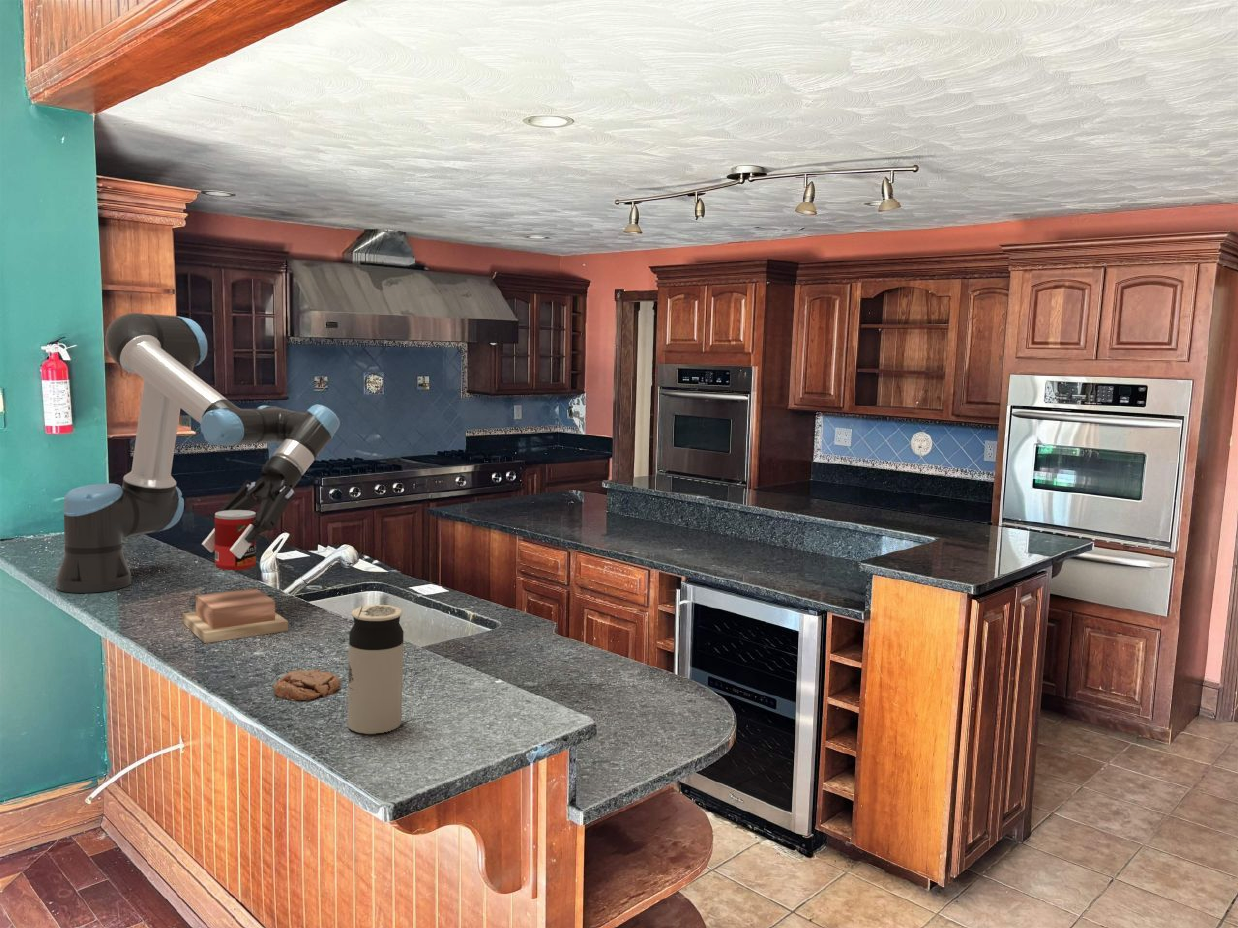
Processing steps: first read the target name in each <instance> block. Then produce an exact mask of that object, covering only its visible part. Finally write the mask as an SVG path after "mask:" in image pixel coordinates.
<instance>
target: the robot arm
mask: <svg viewBox="0 0 1238 928" xmlns="http://www.w3.org/2000/svg"><path fill="white" fill-rule="evenodd" d="M104 344H105V348H106V351H107V353H108V355H109V356H110V358H111V359H112V360H113V361H114V363H115V364H117V365H118V366H119V367H120V368H122V369H123V370H124V371H126V372H127V373H129V374H137V375H138V376H139V377H141V378H142V379H143V386H142V392H141V398H140V399H141V401H140V406H139V407H140V408H139V413H138V414H139V415H138V420H137V421H138V422H137V429H136V436H135V443H134V450H133V458H132V464H131V465H132V466H131V470H130V471H129V472H128V473H126V474H125V475H124V476H123V478H122V485H120V484H116V483H107V482H106V483H105V482H104V483H98V484H95V483H94V484H87V485H82V486H79V487H76V488H73V489H71V490H69V491H67V493H66V494H65V496H64V501H63V508H62V513H63V529H64V532H63V533H64V534H63V535H64V538H63V539H64V541H63V542H64V555H63V558H62V562H61V564H60V567H59V570H58V572H57V576H56V579H55V581H56V583H55V585H56V586H55V587H56V588H55V589H57V590H58V591H60V592H65V593H74V594H75V593H76V594H79V593H80V594H81V593H82V594H83V593H84V594H86V593H89V594H91V593H101V592H102V593H103V592H110V591H113V590H114V591H115V590H119V589H123V588H126V587H128V586H130V585H131V584H132V574H131V571H130V568H129V566H128V563H127V561H126V557H125V555H124V553H123V538H124V537H125V538H126V537H130V536H131V537H132V536H136V535H142V534H149V533H151V534H152V533H153V534H155V533H159V532H161V531H165V530H169V529H171V528H172V527H174V526H175V525H177V524H178V522H179V521H180V519H181V518H182V515H183V512H184V508H185V507H184V506H185V500H184V499H185V498H183V497H182V496H183V493H182V491H181V490H180V488H179V487H178V486H177V481H176V480H175V478H174V477H173V476H172V468H173V463H174V462H173V460H174V454H175V447H176V441H177V433H178V427H179V420H180V412H181V410H182V411H184V412H185V413H186V414H188V415H189V416H190V417H191V418H192V419H193V420H195V421H196V422H197V423H199V424H200V431H201V434H202V435H203V438H204V440H205V442H207V444H209V445H211V446H222V447H231V446H237V445H238V446H241V445H250V444H264V443H265V444H268V443H280V445H279V446H278V448H277V449H276V450H275V451H274V453H273V455H272V456H270V457H269V459H268V460H267V461H266V462H265V464H264V465H263V466H262V469H261V471H262V474H261V477H260V478H259V479H257V480H256V481H251V480H250V479H246V480H245V481H244V482H243V483H242V485H241V487H240V488H239V489H238V490H237V491H236V493H235V494H233V495H232V496H231V498H230V499H228V500H227V501H226V502H225V503H224V505H223V506H222V507H221V508H220V509H218V511H217V512H220V511H227V510H247V511H250V510H251V509H252V508H253V507H254V506H259V509H258V511H257V513H256V519H255V520H254V521H252V523H253V524H254V525H255V526H253V525H252V524H249V526H248V527H247V528H246V529H245V531H244V532H243V533H242V535H241V536H240V537H239V538H238V540H237V541H236V542H235V544H234V545H233V546H232V548H231V549H230V551H231V552H232V553H233V554H234V555H235V556H236V557H237V558H240V559H241V557H242V556H243V555H244V553H245V552H246V551H247V549H248V548H249V547H250V545H251V544H252V543H254V542H255V540H256V541H257V539H258V538H259V537H260V535H261V534H262V533H264V532H266V531H269V532H271V531H274V529H275V527H276V525H277V524H278V522H279V520H280V518H281V517H282V516H283V513H284V512H285V510H286V508H287V507H288V505H289V503H290V502H291V501H292V500H293V499H294V497H296V495H297V493H296V492H295V491H294V490H293V489H294V488H295V486H296V485H297V484H298V483H299V481H300V480H301V479H302V476H303V475H304V474H305V473H306V471H307V470H308V469H309V468H310V466H311V465H312V464H313V462H314V461H315V460H316V459H317V458H318V456H319V455H320V454H321V452H322V451H323V450H324V448H325V447H326V446H327V444H328V443H330V441H331V440H332V439H334V438H333V437H334V435H335V434H336V432H337V431H338V429H339V427H340V425H341V421H340V419H339V417H338V416H337V414H336V413H335V412H334V411H333V410H332V409H330V408H328V407H327V406H325V405H322V404H317V403H316V404H314V405H312V406H311V407H309V408H308V409H307V410H306V412H302V411H301V412H300V411H294V410H289V409H286V408H285V409H284V408H281V407H278V406H275V405H273V406H272V405H261V406H258V407H257V408H240V407H238V406H237V405H235V404H234V403H233V402H231V401H230V400H228V399H227V398H226V397H224V396H223V395H222V394H221V393H219V391H217V390H216V389H214V388H213V387H212V386H211V385H209V384H208V383H206V381H204V380H203V379H201V378H200V377H199V376H198V375H196V374H195V373H194V367H197V366H199V365H201V364H202V362H204V361H205V359H206V357H207V355H208V340H207V336H206V334H205V332H204V331H203V328H202V327H201V326H200V324H198V323H197V322H196V321H194V319H191V318H188V317H183V316H178V315H177V316H176V315H166V314H154V313H153V314H152V313H143V312H129V313H126V314H125V313H124V314H122V315H120V316H119V317H117V318H115V319H114V320H113V321H112V322H111V323H110V324H109V325H108V327H107V329H106V333H105V337H104ZM201 545H202V547H203V546H204V548H205V549H206V550H207V551H208V552H210V553H213V552H215V526H214V527H213V528H212V529H211V532H209V534H208V535H207V537H205V539H204V540H203V541H202V543H201Z"/></svg>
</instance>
